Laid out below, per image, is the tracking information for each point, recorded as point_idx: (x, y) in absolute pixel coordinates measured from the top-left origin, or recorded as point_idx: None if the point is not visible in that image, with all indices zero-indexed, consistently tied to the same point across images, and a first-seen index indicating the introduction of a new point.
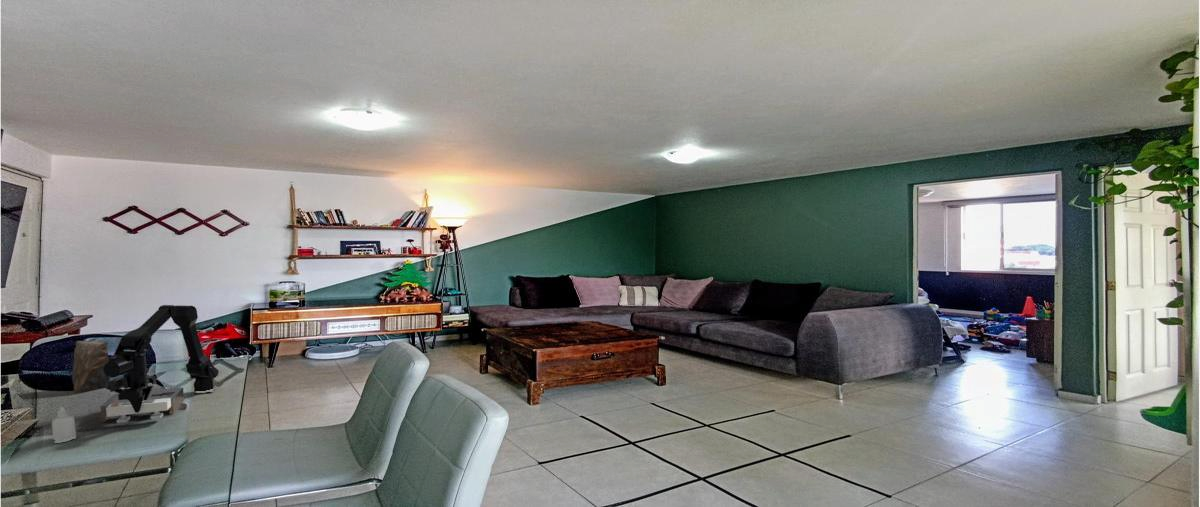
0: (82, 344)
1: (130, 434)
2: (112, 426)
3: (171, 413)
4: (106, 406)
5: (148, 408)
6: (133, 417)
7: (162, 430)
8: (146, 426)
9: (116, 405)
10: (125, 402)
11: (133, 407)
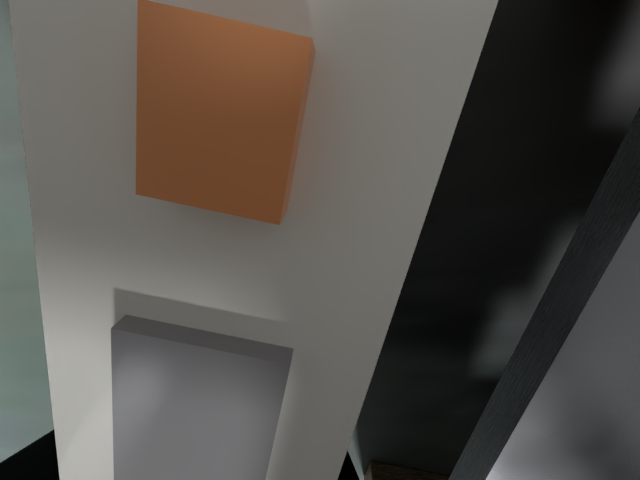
0: None
1: (17, 254)
2: None
3: (368, 476)
4: None
5: None
6: (495, 246)
7: (44, 424)
8: None
9: (157, 182)
10: (285, 380)
11: (29, 452)
